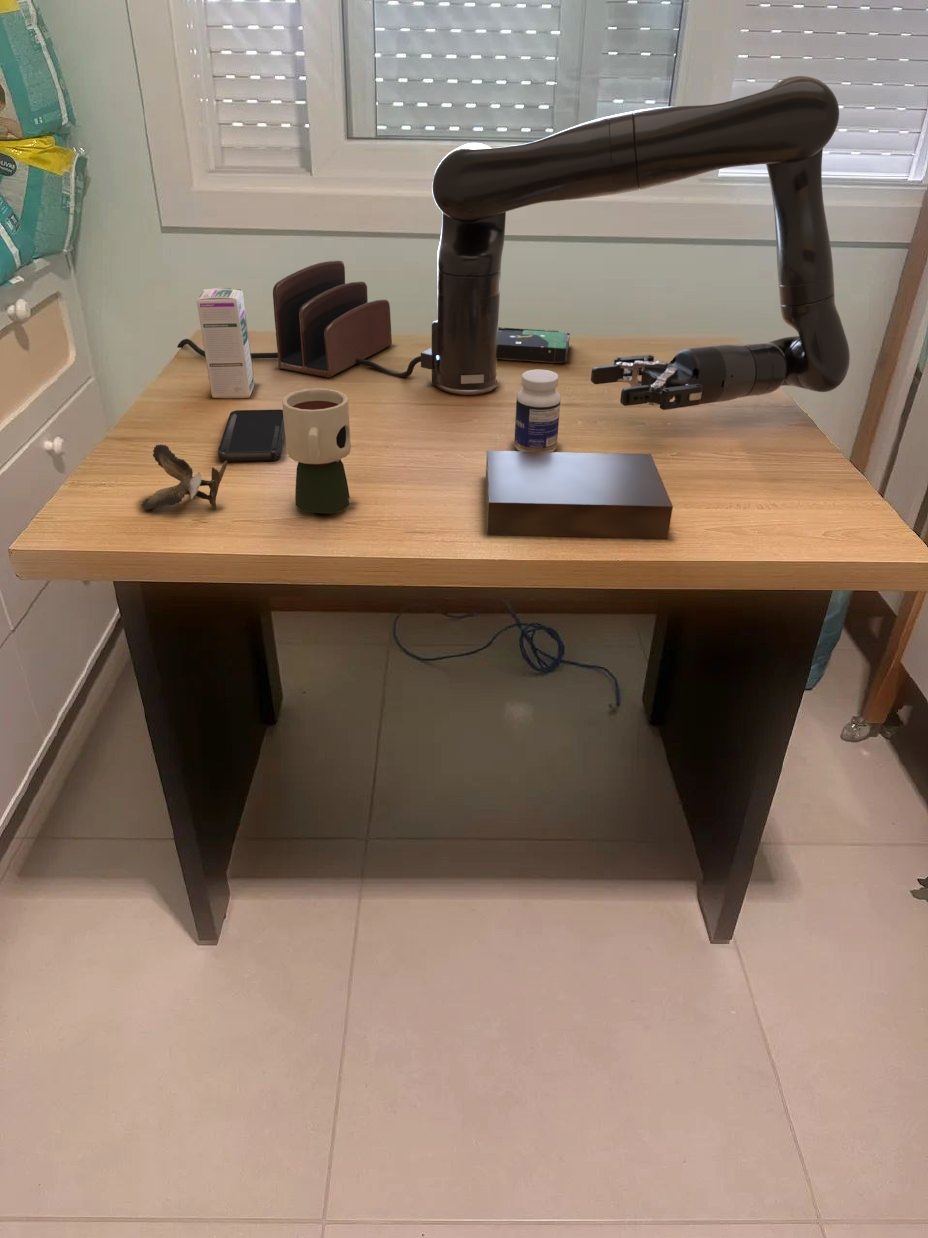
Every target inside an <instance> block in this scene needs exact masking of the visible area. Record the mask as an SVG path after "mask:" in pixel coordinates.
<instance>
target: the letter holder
mask: <svg viewBox="0 0 928 1238" xmlns="http://www.w3.org/2000/svg"><path fill="white" fill-rule="evenodd" d="M272 301H273V303H272V304H273V314H274V315H273V316H274V317H273V318H274V325H275V326H274V327H275V328H274V329H275V339H276V350H277V352H278V358H277V364H278V368H279V370H286V371H290V372H296V373H301V374H306V375H311V376H315V377H316V376H317V377H320V378H321V377H322V378H326V379H330V378H332V377H334V376H335V375H338V374H339V373H342V372H344V371H345V370H347V369H349V368H351V367H353V366H355V365H357V363H356V359H357V358H360V359H364V360H367V359H368V358H370V357H372V356H374V355H376V354H378V353H379V352H381V351H383V350H385V349H387V348H389V347H391V346H393V338H392V337H393V336H392V320H391V303H390V302H389V300H388V299H384V298H383V299H377V300H373V301H369V302H368V285H367V283H366V281H350V282H346V268H345V263H344V262H343V261H342V260H328V261H322V262H318V263H315V264H312V265H309V266H306V267H303V268H302V269H299V270H296V271H295V272H293V273H291V274H289V275H287V276H286V277H283V278H282V279H280V280H278V281H277V282H276V283H275V284H274V286H273V288H272Z"/></svg>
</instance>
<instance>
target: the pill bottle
mask: <svg viewBox="0 0 928 1238" xmlns="http://www.w3.org/2000/svg"><path fill="white" fill-rule="evenodd" d="M520 382H521V383H520V385H521V386H522V388H521V389H520V390H519V391H518V393H517V395H516V404H515V405H516V406H515V423H514V441H513V443H514V444H513V445H514V447H515V449H516V451H525V452H555V450H556V449H557V447H558V439H559V425H560V410H561V395H560V393H559V392H558V391H557V390H556V389H557V387H559V375H558V374H557V372H555V371H551V370H548V369H541V368H540V369H538V368H537V369H529V370H526V371H524V372H523V373H522V374H521V381H520Z"/></svg>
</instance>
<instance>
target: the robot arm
mask: <svg viewBox="0 0 928 1238" xmlns="http://www.w3.org/2000/svg"><path fill="white" fill-rule="evenodd" d="M839 119H840V106H839V102H838V100H837V97H836V95H835V93H834V91H833V90H832V89H831V88H830V86H828V85H827V84H826V83H825V82H823V81H822V80H820V79H818V78H814V77H811V76H804V75H796V76H789V77H786V78H783V79H782V80H780V81H778V82H777V83H775V84H774V85H773V86H772V87H771V88H769V89H766V90H762V91H760V92H757V93H753V94H750V95H746V96H742V97H739V98H736V99H732V100H729V101H724V102H719V103H713V104H701V105H696V104H695V105H674V106H673V105H671V106H661V107H652V108H651V107H650V108H645V109H637V110H634V111H628V112H627V111H626V112H623V113H618V114H613V115H609V116H604V117H600V118H597V119H593V120H590V121H586V122H583V123H580V124H578V125H574V126H572V127H569V128H567V129H564V130H561V131H559V132H556V133H554V134H551V135H549V136H546V137H544V138H540V139H538V140H534V141H531V142H528V143H522V144H516V145H507V146H498V147H490V146H489V145H486V144H483V143H480V142H470V143H465V144H463V145H461V146H459V147H456V148H455V149H453V150H451V151H450V152H449V153H447V154H446V156H444V157H443V158H442V160H441V161H440V162H439V164H438V166H437V167H436V169H435V172H434V174H433V178H432V184H431V192H432V196H433V197H432V198H433V200H434V203H435V204H436V206H437V207H438V209H439V210H440V211H441V214H442V215H441V233H440V240H439V243H438V244H439V245H438V249H437V256H436V258H437V259H436V260H437V261H436V262H437V263H436V264H437V265H436V267H437V274H436V278H437V281H436V282H437V283H436V284H437V288H436V289H437V291H436V292H437V293H436V294H437V295H436V296H437V297H436V298H437V299H436V305H437V306H436V309H437V310H436V312H437V313H436V314H437V316H436V318H437V319H436V320H434V321H433V322H432V323H431V347H430V348H428V349H425V350H423V351H422V352H420V355H419V356H417V357H414V358H413V359H412V360H411V361H409V363H408V366H407V369H406V371H404V372H400V373H399V372H393V371H391V370H388V369H387V368H385V367H383V366H381V365H380V364H377V363H376V362H373V361H371V360H368V359H360V358H357V359H356V363H357V364H358V365H361V366H366V367H368V368H369V367H370V368H372V369H373V370H376V371H377V372H380V373H381V374H385V375H389V376H393V377H395V378H400V379H406V378H408V377H410V376H411V375H412V374H413V372H414V369H415V366H416V365H417V364H418V363H420V368H422V369H426V370H431V385H432V386H436V387H437V388H438V389H440V390H441V391H444V392H446V393H450V394H455V395H462V396H464V395H465V396H467V395H468V396H473V395H474V396H475V395H481V394H485V393H489V392H491V391H494V390H495V389H496V388H497V386H498V380H497V376H498V372H497V369H498V359H497V350H498V327H500V325H499V321H500V299H501V277H502V276H501V274H502V271H501V270H502V257H503V251H504V247H505V234H506V219H507V212H510V211H514V210H517V209H521V208H524V207H529V206H532V205H536V204H537V205H538V204H541V203H543V204H544V203H550V202H563V201H574V200H575V201H576V200H582V199H591V198H599V197H605V196H606V197H607V196H612V195H613V196H614V195H619V194H620V195H621V194H625V193H630V192H634V191H635V192H636V191H639V190H645V189H646V190H647V189H649V188H653V187H657V186H658V187H659V186H662V185H663V186H664V185H666V184H670V183H674V182H678V181H682V180H686V179H689V178H692V177H696V176H699V175H702V174H705V173H709V172H712V171H717V170H721V169H722V170H723V169H728V168H735V167H736V168H737V167H747V166H756V165H757V166H758V165H765V166H766V170H767V174H768V179H769V184H770V189H771V197H772V204H773V212H774V214H773V215H774V226H775V244H776V245H775V247H776V263H777V264H776V267H777V282H778V293H779V305H780V306H779V307H780V308H779V309H780V314H781V319H782V320H783V322H784V323H785V324H787V325H788V326H790V327H792V328H793V329H794V330H795V331H796V332H797V334H798V335H793V336H787V337H782V338H777V339H774V340H770V341H769V342H765V343H764V342H761V343H760V342H759V343H750V344H749V343H747V344H740V345H737V344H736V345H735V344H723V345H722V344H720V345H711V346H700V347H691V348H683V349H681V350H678V352H677V353H675V355H674V357H673V358H672V359H671V361H670V362H668V361H665V360H656V361H655V356H654V355H652V354H646V355H632V356H631V355H630V356H618V357H614V358H613V364H611V365H610V364H609V365H601V366H600V365H599V366H593V368H592V369H591V373H590V382H591V383H592V384H593V385H602V384H604V385H605V384H612V383H624V384H630V386H627V387H623V388H622V389H621V393H620V399H619V403H620V404H621V405H622V406H624V407H628V406H637V405H645V404H648V405H649V406H652V407H653V406H658V405H659V409H660V410H663V411H668V410H673V409H674V410H675V409H681V408H687V407H694V406H699V405H705V404H712V403H720V402H721V403H722V402H728V401H733V400H735V399H740V398H747V397H756V396H763V395H767V394H768V395H769V394H771V393H774V392H775V391H777V390H778V389H780V387H784V386H785V387H787V386H788V387H795V388H801V389H805V390H809V391H812V392H816V393H817V392H818V393H828V392H832V391H833V390H835V389H837V388H838V387H839V386H841V384H843V381H844V380H845V378H846V376H847V375H848V371H849V368H850V362H851V361H850V360H851V355H850V346H849V343H848V342H849V341H848V339H847V335H846V333H845V329H844V326H843V323H842V319H841V316H840V315H839V311H838V309H837V306H836V302H835V301H836V299H835V298H836V297H835V296H836V295H835V277H834V263H833V254H832V253H833V252H832V247H831V239H830V234H829V229H828V228H829V227H828V223H827V217H826V211H825V204H824V203H825V202H824V195H823V194H824V193H823V181H822V180H823V178H822V177H823V176H822V173H823V172H822V170H823V169H822V167H823V151H824V148H825V147H826V146H827V144H828V143H829V142H830V141H831V140H832V138H833V136H834V134H835V132H836V130H837V127H838V125H839ZM186 345H188V346H189V347H190V348H191V349H192V350H193V351H194V352H196V354H198V355H200V356H202V357H204V358H206V357H205V351H204V349H202V348H201V347H199V346H198V344H196V343H195V342H194V341H193V340H191V339H189V338H184V339H182V340H181V341H179V342H178V344H177V346H176V347H177V348H178V349H183V348H184V347H185V346H186ZM255 359H257V360H258V359H278V351H277V352H251V360H255ZM357 364H356V365H357ZM640 376H641V379H640V380H639V377H640ZM673 398H674V400H673ZM671 400H673V401H671Z"/></svg>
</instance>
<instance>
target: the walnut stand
mask: <svg viewBox="0 0 928 1238" xmlns="http://www.w3.org/2000/svg"><path fill="white" fill-rule="evenodd" d="M485 460H486V462H485V463H486V464H485V505H486V532H487V533H486V534H487V536H521V537H522V536H527V537H528V536H529V537H569V538H570V537H572V538H573V537H575V538H577V537H578V538H615V539H616V538H617V539H620V538H621V539H622V538H623V539H662V540H667V539H668V537H669V531H670V526H671V521H672V514H673V508H674V506H673V503H672V501H671V499H670V496H669V493H668V492H667V489H666V487H665V484H664V482H663V480H662V477H661V475H660V472H659V469H658V467H657V465H656V462H655V460H654V458H653V455H652V454H651V453H613V452H607V453H606V452H565V451H562V452H561V451H553V452H525V451H519V450H486V459H485Z"/></svg>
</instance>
